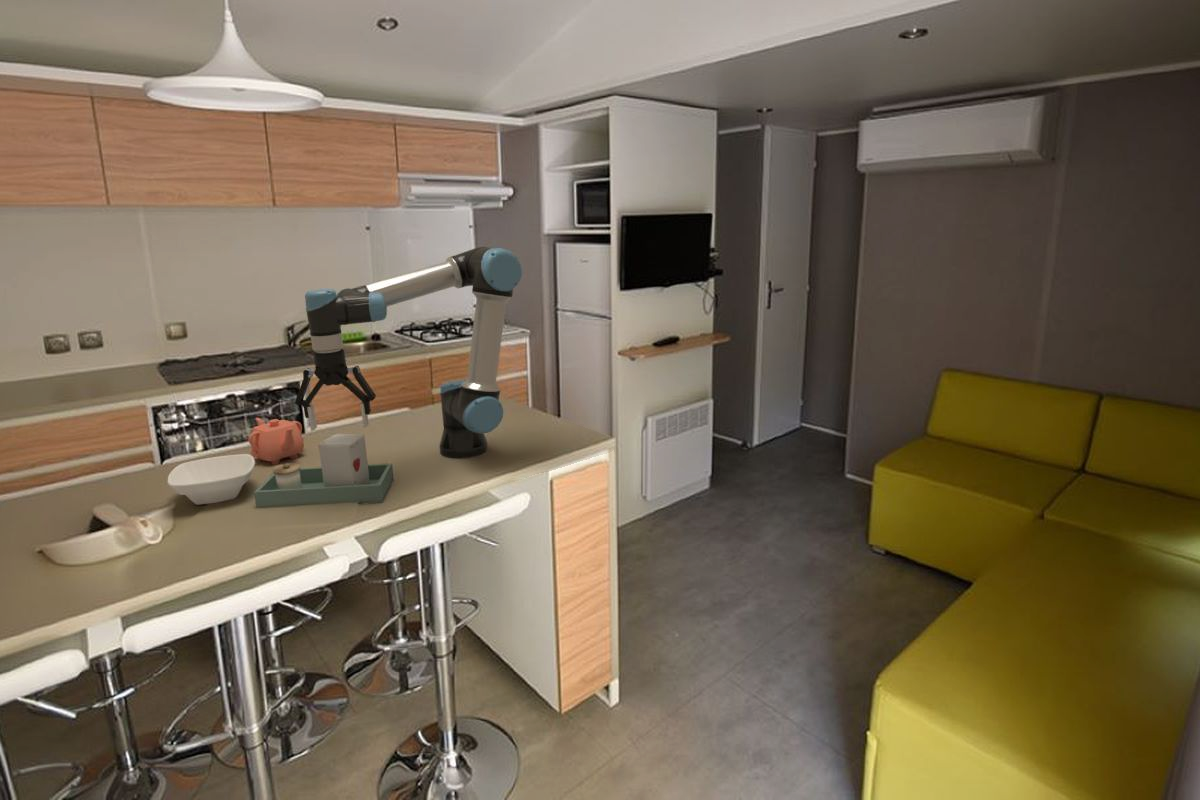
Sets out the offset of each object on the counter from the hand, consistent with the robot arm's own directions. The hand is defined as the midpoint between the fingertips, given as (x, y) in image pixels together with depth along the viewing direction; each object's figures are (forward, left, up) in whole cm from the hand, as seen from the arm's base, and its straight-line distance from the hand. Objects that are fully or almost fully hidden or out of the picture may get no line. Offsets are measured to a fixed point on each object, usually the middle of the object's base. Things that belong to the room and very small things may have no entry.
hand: (340, 427), depth 180 cm
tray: (+5, 0, -19) cm, 20 cm away
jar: (+15, 0, -18) cm, 24 cm away
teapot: (+29, -32, -19) cm, 47 cm away
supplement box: (0, 0, -18) cm, 18 cm away
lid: (+15, 0, -11) cm, 19 cm away
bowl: (+35, -2, -19) cm, 40 cm away
